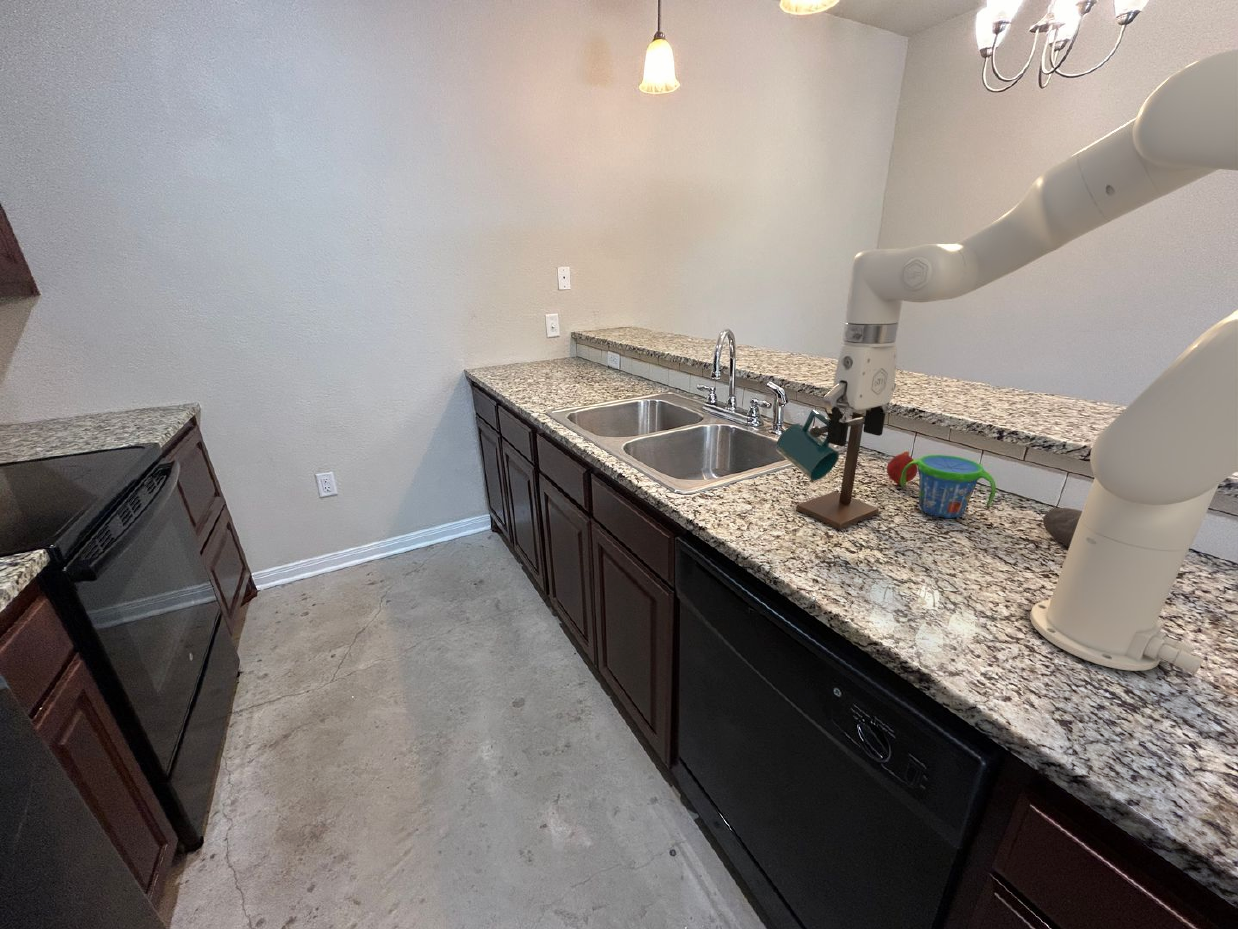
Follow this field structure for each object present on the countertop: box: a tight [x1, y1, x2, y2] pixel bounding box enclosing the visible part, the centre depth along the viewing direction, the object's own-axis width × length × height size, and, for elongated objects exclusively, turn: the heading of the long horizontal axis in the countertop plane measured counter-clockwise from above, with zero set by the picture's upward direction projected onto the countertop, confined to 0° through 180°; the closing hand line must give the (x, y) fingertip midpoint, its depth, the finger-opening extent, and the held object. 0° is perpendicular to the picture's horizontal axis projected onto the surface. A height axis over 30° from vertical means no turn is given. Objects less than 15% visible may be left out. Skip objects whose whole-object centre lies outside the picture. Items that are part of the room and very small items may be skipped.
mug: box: [775, 408, 840, 482], centre depth 92 cm, size 11×7×9 cm
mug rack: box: [796, 410, 880, 530], centre depth 95 cm, size 10×18×20 cm, turn 121°
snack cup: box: [900, 454, 997, 519], centre depth 97 cm, size 16×10×10 cm
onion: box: [886, 450, 918, 486], centre depth 110 cm, size 6×6×8 cm
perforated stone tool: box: [1042, 507, 1083, 548], centre depth 83 cm, size 15×5×7 cm, turn 7°
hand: (854, 438), depth 84 cm, fingers open, 9 cm apart
